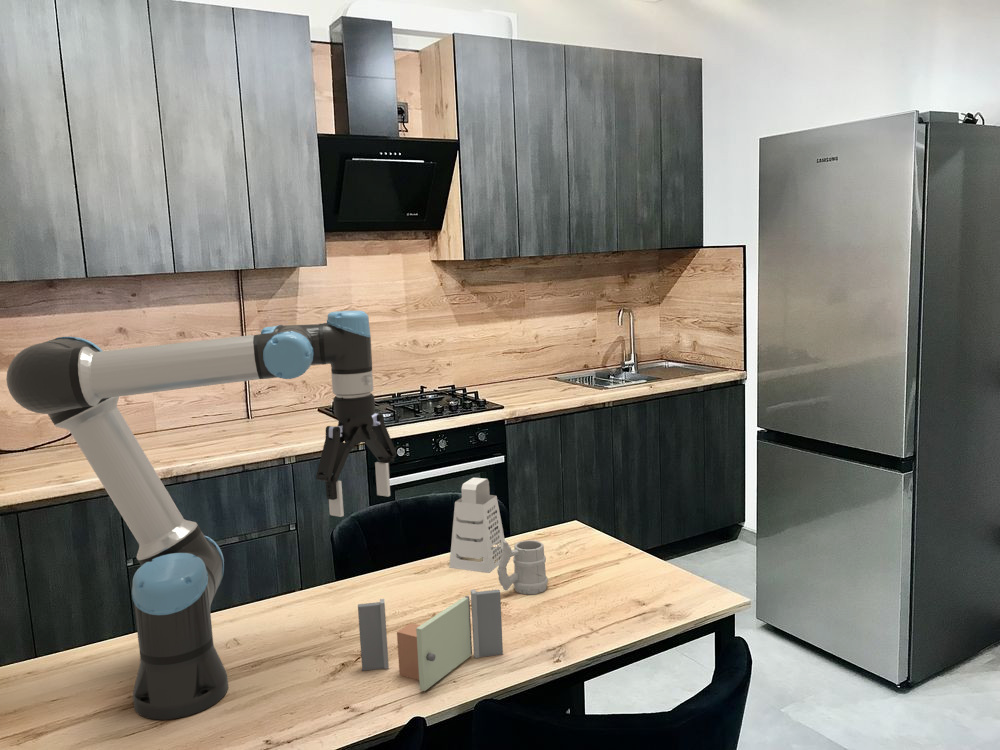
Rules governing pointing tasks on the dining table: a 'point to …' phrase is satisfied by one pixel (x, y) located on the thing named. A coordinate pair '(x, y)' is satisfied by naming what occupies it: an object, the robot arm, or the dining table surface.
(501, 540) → the grater
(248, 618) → the dining table surface
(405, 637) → the orange brown rectangular block
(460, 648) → the door
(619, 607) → the dining table surface
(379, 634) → the frame
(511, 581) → the mug
